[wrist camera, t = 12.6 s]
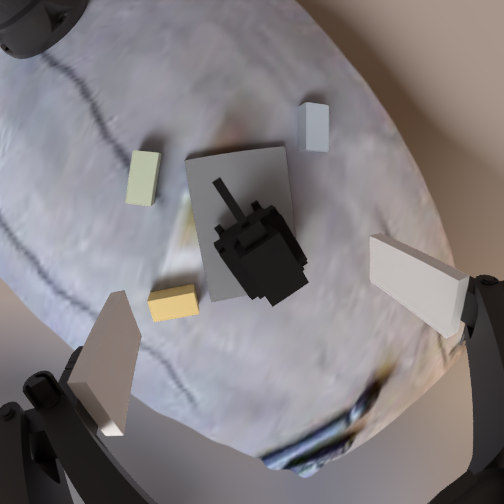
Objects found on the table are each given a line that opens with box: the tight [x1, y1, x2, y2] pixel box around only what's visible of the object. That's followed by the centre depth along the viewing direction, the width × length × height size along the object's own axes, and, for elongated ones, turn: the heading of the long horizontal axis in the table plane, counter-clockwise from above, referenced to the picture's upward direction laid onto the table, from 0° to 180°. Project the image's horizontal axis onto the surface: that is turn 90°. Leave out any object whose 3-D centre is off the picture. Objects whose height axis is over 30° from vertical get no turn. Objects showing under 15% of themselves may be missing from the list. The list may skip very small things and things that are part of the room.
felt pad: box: [184, 146, 296, 302], centre depth 35 cm, size 18×12×1 cm, turn 8°
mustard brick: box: [147, 284, 199, 322], centre depth 35 cm, size 6×3×3 cm, turn 98°
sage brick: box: [126, 150, 162, 206], centre depth 30 cm, size 6×3×3 cm, turn 169°
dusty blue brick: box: [298, 102, 329, 153], centre depth 32 cm, size 6×3×3 cm, turn 179°
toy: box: [212, 177, 309, 307], centre depth 30 cm, size 8×14×10 cm, turn 32°
